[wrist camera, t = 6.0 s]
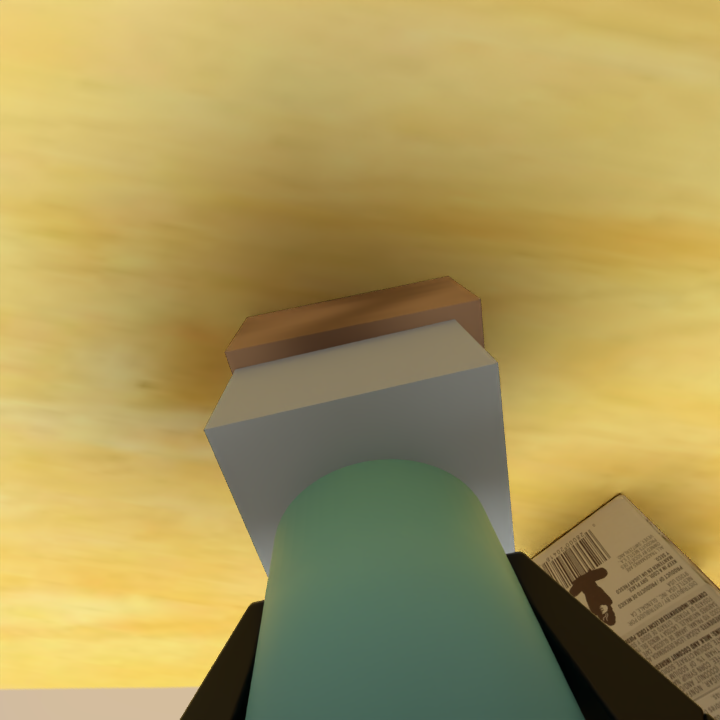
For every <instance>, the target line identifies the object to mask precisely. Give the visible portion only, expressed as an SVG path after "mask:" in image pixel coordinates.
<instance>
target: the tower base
mask: <svg viewBox="0 0 720 720" xmlns="http://www.w3.org/2000/svg"><path fill="white" fill-rule="evenodd" d="M452 319H455V320H456V321H457V322H458V323H459V324H460V325H461V326H462V327H463V328H464V329H465V330H466V331H467V332H468V333H469V334H470V335H471V336H472V337H473V338H474V339H475V340H476V341H477V342H478V343H479V344H480V345H481V346H482V347H483V348H484V336H483V322H482V309H481V299H480V298H478V297H477V296H475V295H474V294H473V293H471V292H470V291H468V290H467V289H466V288H464V287H463V286H461V285H460V284H459V283H457V282H456V281H454V280H453V279H451V278H450V277H449V276H446V277H441V278H436V279H432V280H427V281H422V282H417V283H412V284H407V285H402V286H398V287H393V288H388V289H383V290H378V291H373V292H368V293H363V294H359V295H354V296H349V297H344V298H339V299H334V300H329V301H325V302H320V303H315V304H310V305H305V306H300V307H295V308H290V309H286V310H281V311H276V312H271V313H266V314H261V315H256V316H252V317H247V318H246V320H245V321H244V323H243V324H242V326H241V327H240V329H239V331H238V332H237V334H236V335H235V337H234V338H233V340H232V341H231V343H230V345H229V346H228V348H227V349H226V351H225V354H226V357H227V360H228V363H229V366H230V369H231V372H232V374H233V373H234V371H235V369H239V368H243V367H248V366H252V365H257V364H261V363H265V362H270V361H274V360H278V359H283V358H287V357H291V356H296V355H300V354H304V353H309V352H313V351H318V350H322V349H326V348H331V347H335V346H339V345H344V344H348V343H352V342H357V341H361V340H365V339H370V338H374V337H378V336H383V335H387V334H392V333H396V332H400V331H405V330H409V329H413V328H418V327H422V326H426V325H431V324H435V323H439V322H444V321H448V320H452Z"/></svg>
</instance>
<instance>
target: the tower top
mask: <svg viewBox="0 0 720 720" xmlns="http://www.w3.org/2000/svg"><path fill="white" fill-rule="evenodd" d="M204 431H205V434H206V436H207V438H208V441H209V443H210V445H211V448H212V450H213V452H214V454H215V457H216V459H217V461H218V464H219V466H220V468H221V471H222V473H223V475H224V477H225V480H226V482H227V484H228V487H229V489H230V491H231V494H232V496H233V498H234V500H235V503H236V505H237V507H238V510H239V512H240V514H241V516H242V519H243V521H244V523H245V526H246V528H247V530H248V533H249V535H250V537H251V539H252V542H253V544H254V546H255V549H256V551H257V553H258V556H259V558H260V560H261V562H262V565H263V567H264V569H265V572H266V574H267V576H269V570H270V564H271V558H272V552H273V546H274V539H275V535H276V531H277V527H278V524H279V522H280V520H281V518H282V516H283V514H284V512H285V511H286V509H287V508H288V506H289V505H290V504H291V502H292V501H293V500H294V499H295V498H296V497H297V496H298V495H299V494H300V493H301V492H302V491H303V490H304V489H306V488H307V487H308V486H309V485H311V484H312V483H314V482H315V481H317V480H318V479H320V478H321V477H323V476H325V475H327V474H329V473H331V472H333V471H335V470H338V469H341V468H343V467H346V466H349V465H353V464H357V463H361V462H366V461H373V460H384V459H399V460H410V461H416V462H421V463H425V464H428V465H431V466H435V467H438V468H440V469H442V470H444V471H446V472H448V473H450V474H452V475H453V476H455V477H457V478H458V479H460V480H461V481H462V482H463V483H465V484H466V485H467V486H468V487H469V488H470V489H471V490H472V491H473V493H474V494H475V495H476V496H477V497H478V499H479V501H480V502H481V504H482V506H483V508H484V510H485V512H486V514H487V516H488V518H489V520H490V522H491V524H492V526H493V529H494V531H495V533H496V535H497V537H498V539H499V541H500V543H501V545H502V547H503V549H504V551H505V554H508V553H513V552H515V547H514V536H513V524H512V513H511V502H510V491H509V480H508V468H507V457H506V446H505V435H504V424H503V412H502V401H501V390H500V379H499V367H498V362H497V361H496V360H495V359H494V358H493V357H492V356H491V355H490V354H489V353H488V352H487V351H486V350H485V349H484V348H483V347H482V346H481V345H480V344H479V343H478V342H477V341H476V340H475V339H474V338H473V337H472V336H471V335H470V334H469V333H468V332H467V331H466V330H465V329H464V328H463V327H462V326H461V325H460V324H459V323H458V322H457V321H456V320H455V319H452V320H448V321H444V322H439V323H435V324H431V325H426V326H422V327H418V328H413V329H409V330H405V331H400V332H396V333H392V334H387V335H383V336H378V337H374V338H370V339H365V340H361V341H357V342H352V343H348V344H344V345H339V346H335V347H331V348H326V349H322V350H318V351H313V352H309V353H304V354H300V355H296V356H291V357H287V358H283V359H278V360H274V361H270V362H265V363H261V364H257V365H252V366H248V367H243V368H239V369H235V371H234V373H233V375H232V377H231V379H230V381H229V383H228V384H227V386H226V388H225V390H224V392H223V394H222V396H221V398H220V400H219V402H218V404H217V406H216V407H215V409H214V411H213V413H212V415H211V417H210V419H209V421H208V423H207V425H206V427H205V428H204Z"/></svg>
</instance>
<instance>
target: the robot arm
mask: <svg viewBox="0 0 720 720" xmlns="http://www.w3.org/2000/svg"><path fill="white" fill-rule="evenodd" d="M506 556H507V558H508V560H509V562H510V564H511V566H512V568H513V570H514V572H515V574H516V576H517V578H518V581H519V583H520V585H521V587H522V589H523V591H524V593H525V595H526V597H527V600H528V602H529V604H530V606H531V608H532V610H533V612H534V614H535V616H536V618H537V620H538V622H539V624H540V626H541V628H542V630H543V633H544V635H545V637H546V639H547V641H548V643H549V645H550V647H551V649H552V651H553V653H554V655H555V658H556V660H557V662H558V664H559V666H560V668H561V670H562V672H563V674H564V676H565V678H566V680H567V683H568V685H569V687H570V689H571V691H572V693H573V695H574V697H575V699H576V701H577V703H578V705H579V707H580V710H581V712H582V714H583V716H584V718H585V720H715V719H714V718H713V717H712V716H711V715H710V714H708V713H705V714H704V712H703V709H702V708H701V707H700V706H699V705H698V704H697V703H696V702H694V701H693V700H692V699H691V698H690V697H689V696H688V695H686V694H685V693H684V692H683V691H682V690H681V689H680V688H678V687H677V686H676V685H675V684H674V683H673V682H672V681H670V680H669V679H668V678H667V677H666V676H665V675H663V674H662V673H661V672H660V671H659V670H658V669H657V668H655V667H654V666H653V665H652V664H651V663H650V662H649V661H647V660H646V659H645V658H644V657H643V656H642V655H641V654H639V653H638V652H637V651H636V650H635V649H634V648H633V647H631V646H630V645H629V644H628V643H627V642H626V641H624V640H623V639H622V638H621V637H620V636H619V635H618V634H616V633H615V632H614V631H613V630H612V629H611V628H610V627H608V626H607V625H606V624H605V623H604V622H603V621H602V620H600V619H599V618H598V617H597V616H596V615H595V614H593V613H592V612H591V611H590V610H589V609H588V608H587V607H585V606H584V605H583V604H582V603H581V602H580V601H579V600H577V599H576V598H575V597H574V596H573V595H572V594H571V593H569V592H568V591H567V590H566V589H565V588H564V587H563V586H561V585H560V584H559V583H558V582H557V581H556V580H554V579H553V578H552V577H551V576H550V575H549V574H548V573H546V572H545V571H544V570H543V569H542V568H541V567H540V566H538V565H537V564H536V563H535V562H534V561H533V560H532V559H530V558H529V557H528V556H527V555H526V554H525V553H523V552H513V553H508V554H506ZM264 601H265V600H262V601H257V602H253V603H252V604H250V605H249V607H248V608H247V610H246V612H245V613H244V615H243V616H242V618H241V620H240V621H239V623H238V625H237V626H236V628H235V630H234V631H233V633H232V635H231V636H230V638H229V640H228V641H227V643H226V644H225V646H224V648H223V649H222V651H221V653H220V654H219V656H218V658H217V659H216V661H215V663H214V664H213V666H212V667H211V669H210V671H209V672H208V674H207V676H206V677H205V679H204V681H203V682H202V684H201V686H200V687H199V689H198V691H197V692H196V694H195V695H194V697H193V699H192V700H191V702H190V704H189V705H188V707H187V709H186V710H185V712H184V714H183V715H182V717H181V718H180V720H245V718H246V712H247V706H248V699H249V693H250V687H251V681H252V675H253V669H254V663H255V656H256V650H257V644H258V638H259V632H260V626H261V619H262V613H263V607H264Z"/></svg>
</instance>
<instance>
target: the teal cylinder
mask: <svg viewBox="0 0 720 720" xmlns="http://www.w3.org/2000/svg"><path fill="white" fill-rule="evenodd" d="M245 720H585V718H584V716H583V714H582V712H581V710H580V707H579V705H578V703H577V701H576V699H575V697H574V695H573V693H572V691H571V689H570V687H569V685H568V683H567V680H566V678H565V676H564V674H563V672H562V670H561V668H560V666H559V664H558V662H557V660H556V658H555V655H554V653H553V651H552V649H551V647H550V645H549V643H548V641H547V639H546V637H545V635H544V633H543V630H542V628H541V626H540V624H539V622H538V620H537V618H536V616H535V614H534V612H533V610H532V608H531V606H530V604H529V602H528V600H527V597H526V595H525V593H524V591H523V589H522V587H521V585H520V583H519V581H518V578H517V576H516V574H515V572H514V570H513V568H512V566H511V564H510V562H509V560H508V558H507V556H506V554H505V551H504V549H503V547H502V545H501V543H500V541H499V539H498V537H497V535H496V533H495V531H494V529H493V526H492V524H491V522H490V520H489V518H488V516H487V514H486V512H485V510H484V508H483V506H482V504H481V502H480V501H479V499H478V497H477V496H476V495H475V494H474V493H473V491H472V490H471V489H470V488H469V487H468V486H467V485H466V484H465V483H463V482H462V481H461V480H460V479H458V478H457V477H455V476H453V475H452V474H450V473H448V472H446V471H444V470H442V469H440V468H438V467H435V466H431V465H428V464H425V463H421V462H416V461H410V460H399V459H384V460H373V461H366V462H361V463H357V464H353V465H349V466H346V467H343V468H341V469H338V470H335V471H333V472H331V473H329V474H327V475H325V476H323V477H321V478H320V479H318V480H317V481H315V482H314V483H312V484H311V485H309V486H308V487H307V488H306V489H304V490H303V491H302V492H301V493H300V494H299V495H298V496H297V497H296V498H295V499H294V500H293V501H292V502H291V504H290V505H289V506H288V508H287V509H286V511H285V512H284V514H283V516H282V518H281V520H280V522H279V524H278V527H277V531H276V535H275V539H274V546H273V552H272V558H271V564H270V570H269V576H268V583H267V589H266V595H265V601H264V607H263V613H262V619H261V626H260V632H259V638H258V644H257V650H256V656H255V663H254V669H253V675H252V681H251V687H250V693H249V699H248V706H247V712H246V718H245Z"/></svg>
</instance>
